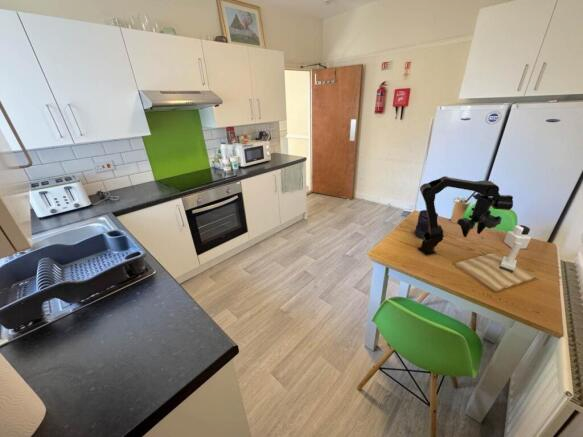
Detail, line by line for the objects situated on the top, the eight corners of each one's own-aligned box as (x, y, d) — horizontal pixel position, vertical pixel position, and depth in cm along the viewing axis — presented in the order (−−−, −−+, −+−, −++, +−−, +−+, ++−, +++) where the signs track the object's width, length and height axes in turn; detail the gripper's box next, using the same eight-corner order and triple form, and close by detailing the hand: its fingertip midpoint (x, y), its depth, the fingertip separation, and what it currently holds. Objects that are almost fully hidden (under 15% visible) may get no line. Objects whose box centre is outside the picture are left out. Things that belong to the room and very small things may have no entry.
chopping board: (494, 292, 104) (495, 289, 104) (454, 264, 121) (455, 262, 121) (535, 278, 111) (536, 276, 110) (491, 254, 128) (492, 252, 127)
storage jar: (410, 233, 149) (416, 207, 141) (421, 229, 152) (428, 204, 144) (424, 241, 141) (431, 214, 133) (435, 237, 144) (443, 210, 136)
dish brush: (512, 273, 113) (524, 248, 106) (499, 268, 116) (510, 244, 109) (514, 265, 118) (526, 241, 111) (501, 260, 121) (512, 237, 114)
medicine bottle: (516, 241, 137) (525, 223, 132) (526, 249, 131) (535, 230, 125) (503, 241, 138) (511, 223, 132) (512, 248, 132) (521, 229, 126)
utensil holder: (470, 226, 155) (486, 182, 141) (450, 224, 157) (464, 181, 143) (462, 218, 164) (477, 176, 150) (444, 217, 166) (457, 176, 152)
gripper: (484, 218, 105) (472, 247, 112) (514, 211, 110) (501, 239, 117) (461, 208, 114) (452, 235, 122) (489, 202, 119) (479, 229, 126)
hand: (471, 235), depth 121 cm, fingers open, 9 cm apart
